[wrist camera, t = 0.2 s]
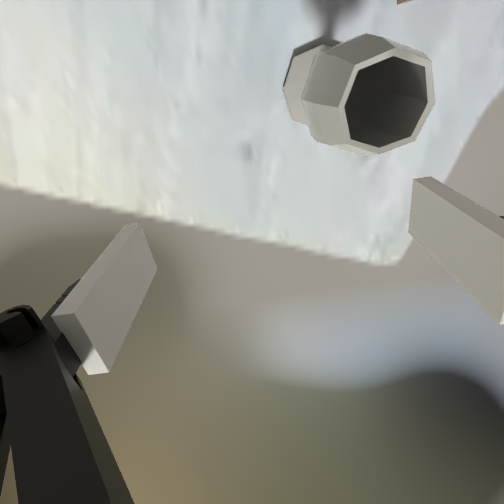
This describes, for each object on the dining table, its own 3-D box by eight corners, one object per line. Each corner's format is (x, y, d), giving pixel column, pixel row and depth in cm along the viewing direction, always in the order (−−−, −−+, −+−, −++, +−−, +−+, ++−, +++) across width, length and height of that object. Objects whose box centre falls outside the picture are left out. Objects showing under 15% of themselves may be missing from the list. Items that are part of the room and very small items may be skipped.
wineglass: (282, 129, 39) (310, 179, 21) (282, 46, 35) (318, 19, 17) (352, 125, 39) (440, 173, 21) (361, 42, 35) (483, 10, 17)
